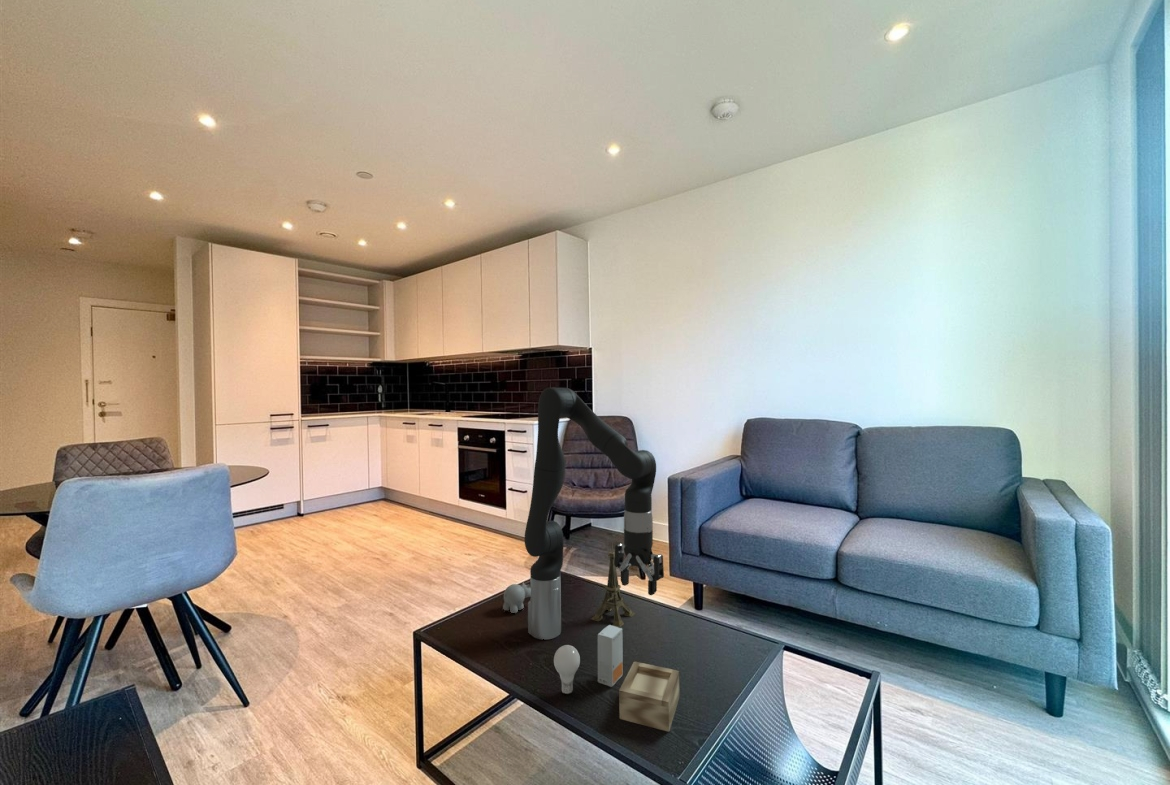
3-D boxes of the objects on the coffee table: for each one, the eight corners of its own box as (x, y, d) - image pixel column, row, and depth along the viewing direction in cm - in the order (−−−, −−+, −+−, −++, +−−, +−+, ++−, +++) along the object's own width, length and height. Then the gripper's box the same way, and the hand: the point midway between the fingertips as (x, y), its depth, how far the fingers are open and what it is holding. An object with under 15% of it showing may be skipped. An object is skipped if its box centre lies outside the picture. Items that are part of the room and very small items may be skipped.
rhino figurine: (539, 604, 157) (539, 579, 157) (513, 617, 148) (513, 591, 148) (525, 599, 162) (525, 575, 162) (499, 611, 152) (498, 585, 152)
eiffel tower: (591, 619, 146) (590, 541, 146) (607, 606, 155) (606, 533, 155) (620, 627, 140) (619, 546, 141) (634, 614, 149) (633, 538, 150)
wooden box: (619, 718, 100) (619, 690, 100) (634, 686, 111) (634, 661, 111) (669, 731, 95) (668, 702, 96) (679, 697, 106) (678, 670, 107)
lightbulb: (553, 685, 112) (553, 640, 112) (579, 683, 112) (578, 639, 112) (554, 702, 105) (553, 654, 106) (581, 700, 106) (580, 653, 106)
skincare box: (612, 688, 110) (611, 638, 111) (597, 682, 113) (596, 634, 113) (623, 675, 115) (623, 628, 116) (609, 670, 118) (608, 623, 118)
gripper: (608, 524, 120) (608, 586, 120) (652, 536, 110) (652, 602, 110) (625, 519, 126) (625, 577, 125) (669, 529, 116) (669, 592, 116)
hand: (638, 589), depth 118 cm, fingers open, 8 cm apart
